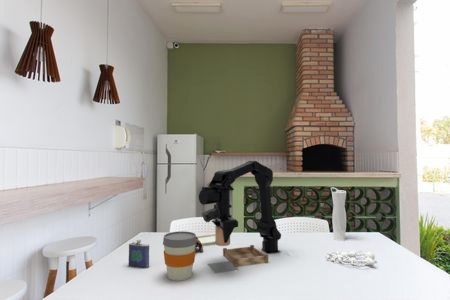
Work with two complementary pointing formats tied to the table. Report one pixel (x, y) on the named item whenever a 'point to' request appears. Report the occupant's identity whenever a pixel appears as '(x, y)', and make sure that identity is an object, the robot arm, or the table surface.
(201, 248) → the brown creature figurine
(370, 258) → the tangled rod sculpture
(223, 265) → the slate mat
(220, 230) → the terracotta pot
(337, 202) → the white water bottle
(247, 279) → the table surface
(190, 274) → the reusable coffee cup
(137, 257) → the flask
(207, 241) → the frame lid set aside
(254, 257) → the brown wooden tray
